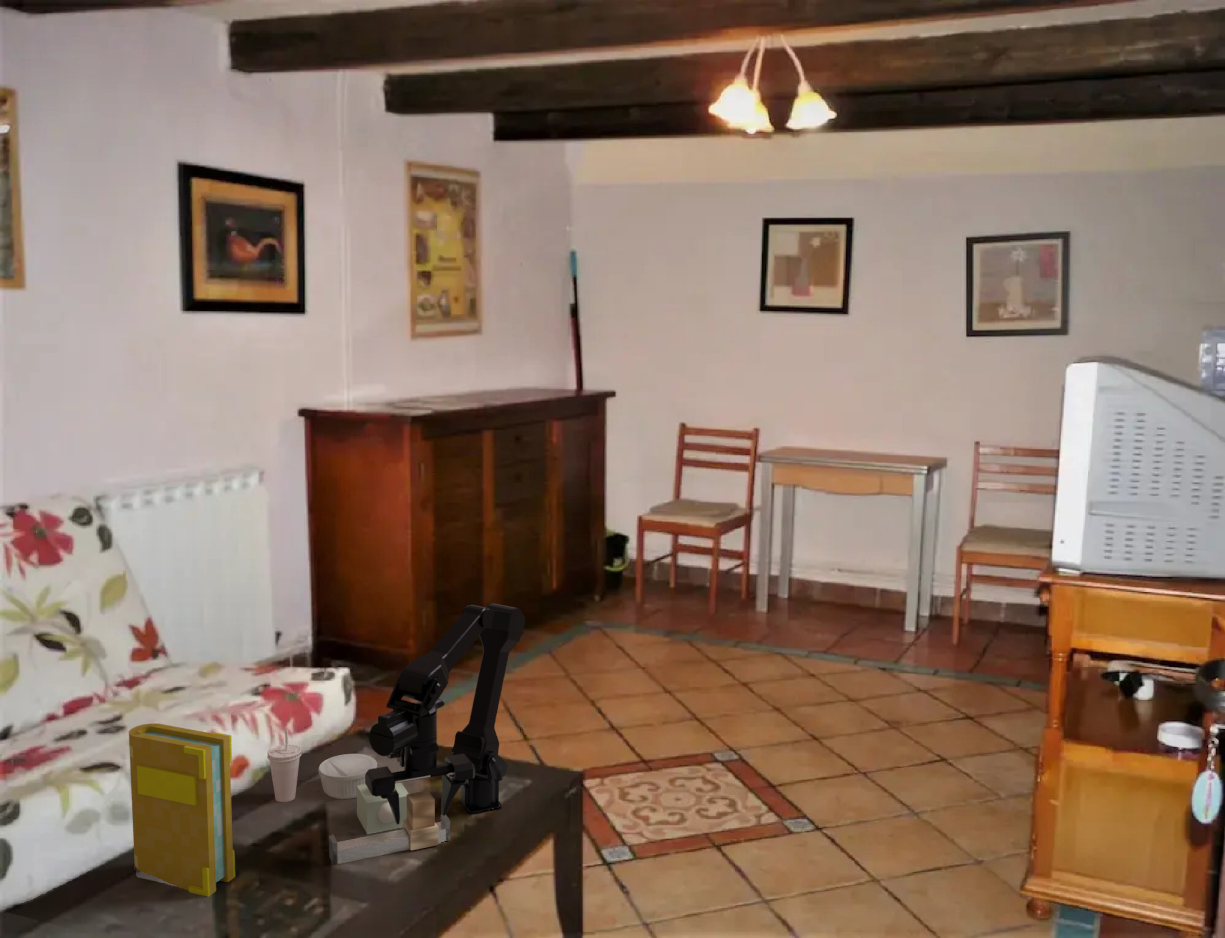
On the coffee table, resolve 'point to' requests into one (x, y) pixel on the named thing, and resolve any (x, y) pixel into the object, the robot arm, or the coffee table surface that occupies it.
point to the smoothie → (284, 769)
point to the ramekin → (345, 774)
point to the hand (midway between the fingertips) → (420, 818)
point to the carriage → (421, 820)
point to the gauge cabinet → (379, 810)
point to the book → (182, 806)
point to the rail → (378, 844)
